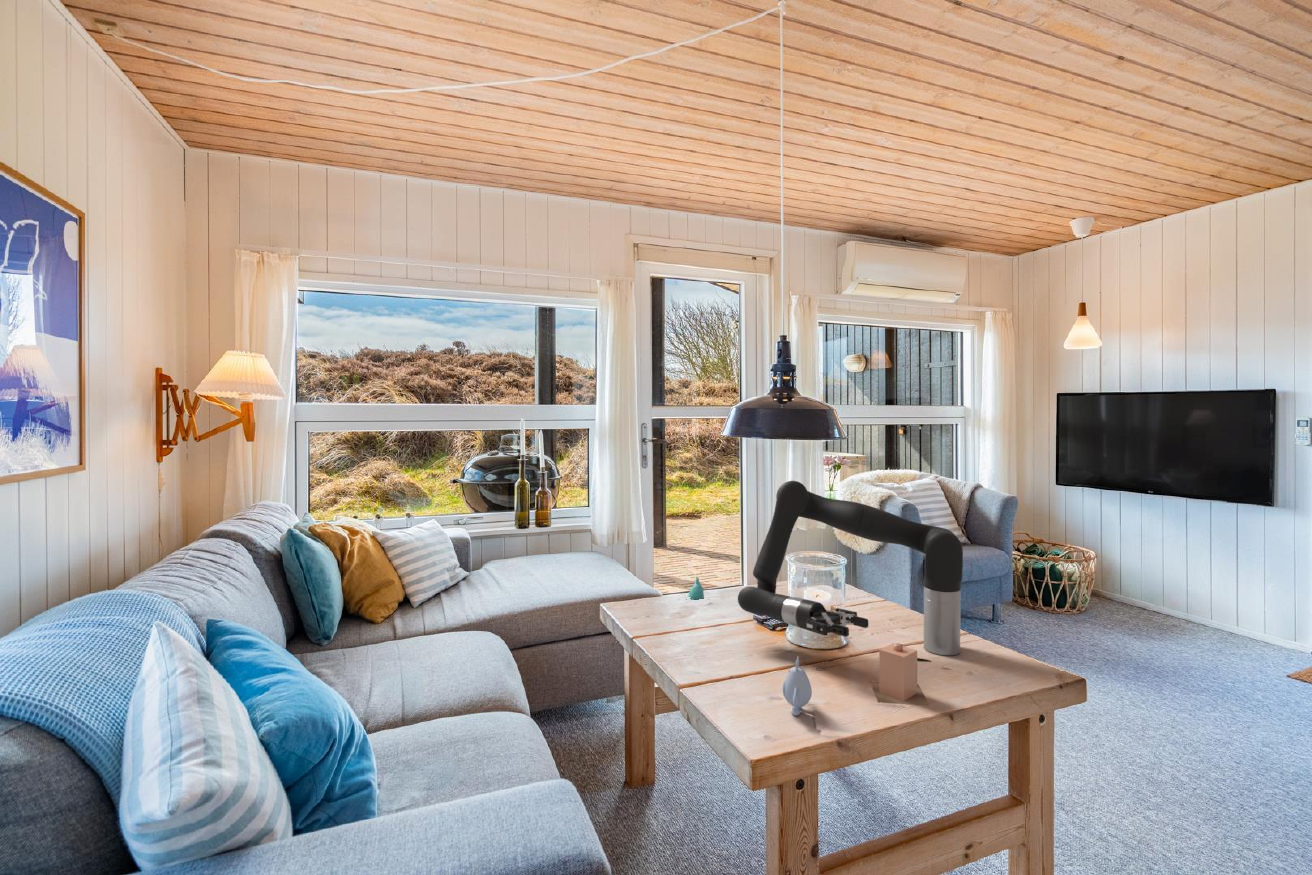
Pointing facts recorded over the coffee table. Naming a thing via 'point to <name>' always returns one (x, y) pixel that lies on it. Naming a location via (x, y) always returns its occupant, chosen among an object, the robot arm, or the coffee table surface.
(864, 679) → the coffee table surface
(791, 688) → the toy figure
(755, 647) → the coffee table surface
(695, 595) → the green christmas tree
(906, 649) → the cover
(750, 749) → the coffee table surface
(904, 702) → the board
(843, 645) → the coffee table surface
